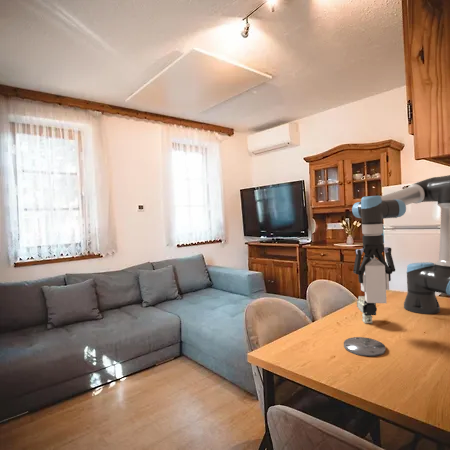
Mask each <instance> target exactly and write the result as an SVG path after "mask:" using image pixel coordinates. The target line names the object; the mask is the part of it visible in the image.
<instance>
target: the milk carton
mask: <svg viewBox="0 0 450 450" xmlns="http://www.w3.org/2000/svg"><path fill="white" fill-rule="evenodd" d="M367 264H368V265H367ZM367 264H366V265H365V272H364V274H363V275H365V280H366V292H364V296H365V299H366V302H367V303H376V304H387V290H386V278H385V273H386V272H385V265H384V264H383V263H381V262H380V261H379V260H378V258H376V257H375V255H374V258H371V259H370V260H369V262H368V263H367Z"/></svg>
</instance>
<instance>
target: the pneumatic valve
mask: <svg viewBox="0 0 450 450" xmlns="http://www.w3.org/2000/svg"><path fill="white" fill-rule="evenodd" d="M356 307H357V309H358V310H359V311H360V312H361V313H362V314H361V316H362V320H361V321H362V322H363V323H364V324H371V325H372V324H374V323H373V316H377V311H378V308H377V303H367V302H366V299H365V295H358V296H357V300H356Z"/></svg>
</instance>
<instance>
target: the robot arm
mask: <svg viewBox="0 0 450 450" xmlns="http://www.w3.org/2000/svg"><path fill="white" fill-rule="evenodd" d="M427 202H429V203H430V202H431V203H432V202H437V206H438V207H440V210H441V211H440V225H439V226H440V229H439V246H438V247H439V252H438V260H437V261H435V262H430V261H429V262H424V261H423V262H412V263H409V264H407V266H406V283H407V284H406V285H407V286H406V287H407V288H406V289H407V292H406V293H407V294H406V296H405V300H404V301H403V309H405V310H406V311H409V312H412V313H417V314H425V315H430V314H438V313H440V311H441V307H440V304H439V301H438V299H437V295H436V293H439V294H444V295H447V296H450V175H442V176H441V175H440V176H435V177H430V178H426V179H423V180H421V181H417V182H415V183H412V184H409V185H408V187H406V188H402V189H401V190H397V191H393V192H391V193H387V194H384V195H370V196H362V197H361V199H360V201H358V202H355V203H354V204H353V205H352V206H351V207H352V208H351V211H352V215H353V216H354V217H355V218H358V219H361V231H362V232H361V233H362V236H361V237H362V248H360V249H359V248H356V249H354V252H355V259H354V265H353V271H352V273H353V274H355V275H357V276H358V277H357V278H358V279H357V280H358V283H359V284H360V291H362V292H364V293H365V292H366V280H365V275H364V272H365V265H366V264H367V263H368V262H369V260H370V259H371V258H374V255H375V258H376V259H378V260H379V261H380V262H381V263H383V264H384V265H385V278H386V291H390V282H391V280H392V278H391V275H392V274H393V272H396V266H395V264H394V260H393V259H394V258H393V256H392V247H389V246H386V247H385V246H384V235H383V233H384V228H383V219H397V218H401V217H402V216H404V215H405V214H406V211H407V205H410V204H417V205H418V204H421V203H427ZM383 252H384V255H383ZM363 253H364V255H363ZM362 256H363V257H362ZM384 256H385V258H384ZM362 258H363V259H362ZM385 259H386V260H385ZM367 265H368V264H367Z"/></svg>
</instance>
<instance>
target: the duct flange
mask: <svg viewBox="0 0 450 450" xmlns="http://www.w3.org/2000/svg"><path fill="white" fill-rule="evenodd" d="M343 347H344V349H345V350H346V351H347V352H348V353H352V354H354V355H357V356H361V357H373V358H374V357H379V356H382V355H385V353H386V345H385V344H384V343H383V342H381V341H379V340H377V339H374V338H370V337H363V336H362V337H361V336H356V337H355V336H354V337H349V338H348V337H347V338H346V339H345V340H344V341H343Z"/></svg>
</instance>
